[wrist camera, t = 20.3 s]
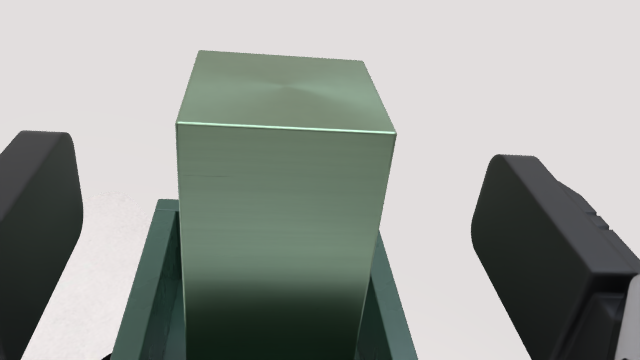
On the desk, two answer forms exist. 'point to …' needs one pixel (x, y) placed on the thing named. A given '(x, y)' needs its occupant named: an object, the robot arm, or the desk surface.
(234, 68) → the pen tin
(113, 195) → the desk surface
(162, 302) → the caddy
